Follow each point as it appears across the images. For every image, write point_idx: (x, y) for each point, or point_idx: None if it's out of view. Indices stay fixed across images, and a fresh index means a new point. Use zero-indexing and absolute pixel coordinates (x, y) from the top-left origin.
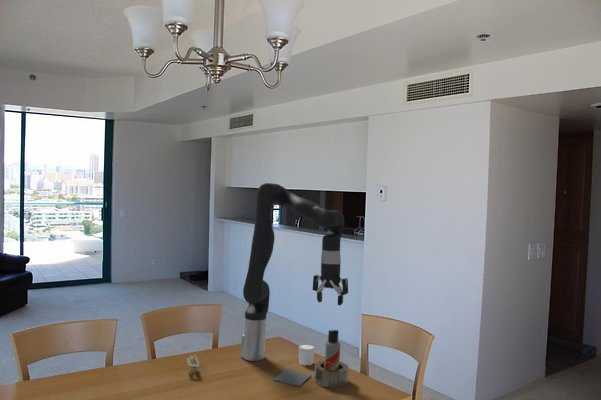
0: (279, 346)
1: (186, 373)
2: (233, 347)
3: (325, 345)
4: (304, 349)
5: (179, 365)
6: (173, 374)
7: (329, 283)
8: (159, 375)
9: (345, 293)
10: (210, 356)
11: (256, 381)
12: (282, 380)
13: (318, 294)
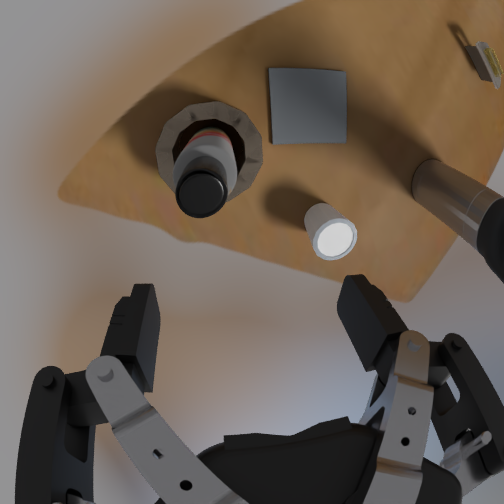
0: (399, 270)
1: None
2: None
3: (231, 155)
4: (335, 218)
5: None
6: None
7: (296, 498)
8: (493, 38)
9: (36, 378)
10: (483, 147)
11: (372, 50)
12: (322, 72)
13: (391, 321)
